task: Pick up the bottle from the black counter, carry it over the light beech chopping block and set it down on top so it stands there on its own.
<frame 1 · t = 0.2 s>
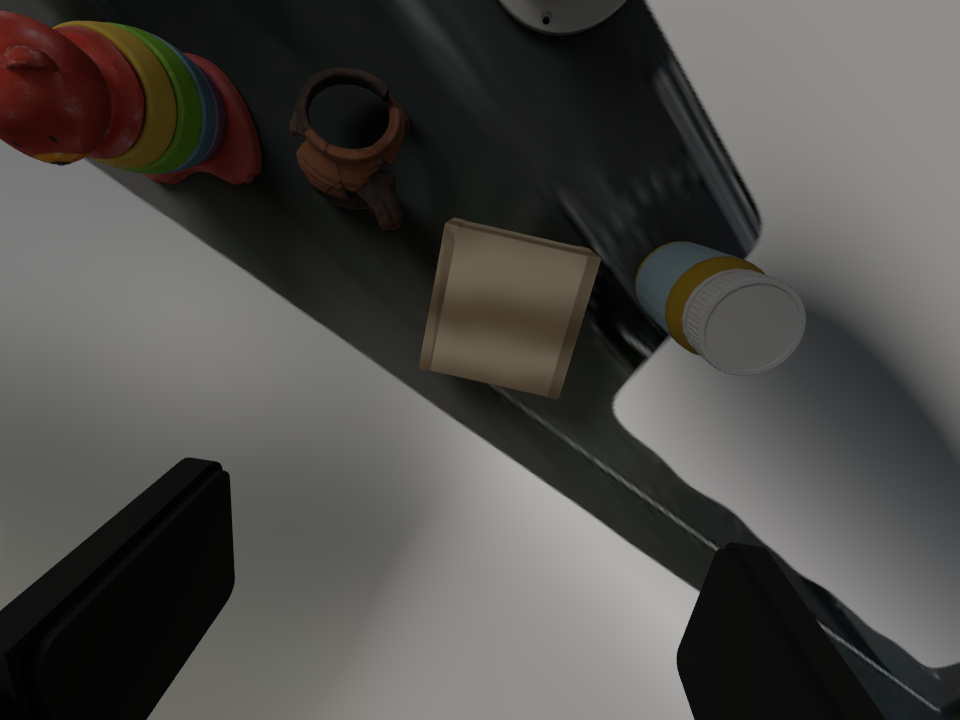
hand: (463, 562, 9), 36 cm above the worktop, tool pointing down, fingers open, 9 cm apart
stacking bear: (197, 121, 41), on the worktop
bottle: (672, 280, 43), on the worktop
chopping block: (506, 299, 44), on the worktop
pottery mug: (368, 161, 41), on the worktop
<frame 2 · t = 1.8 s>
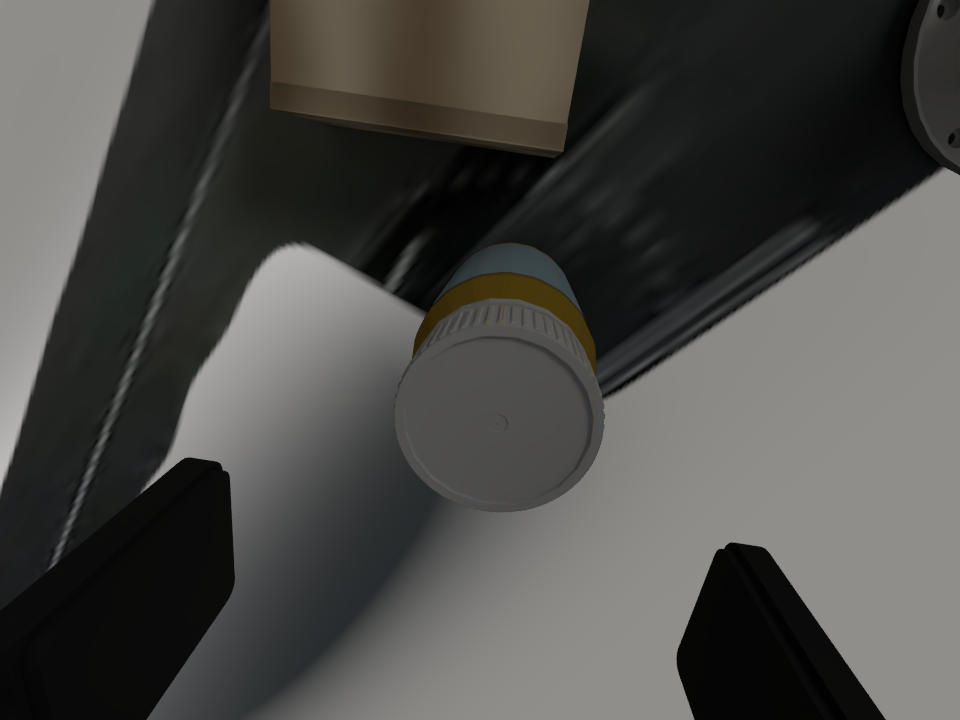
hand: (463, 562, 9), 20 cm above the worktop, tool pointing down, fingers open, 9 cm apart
bottle: (509, 301, 28), on the worktop
chopping block: (452, 3, 23), on the worktop
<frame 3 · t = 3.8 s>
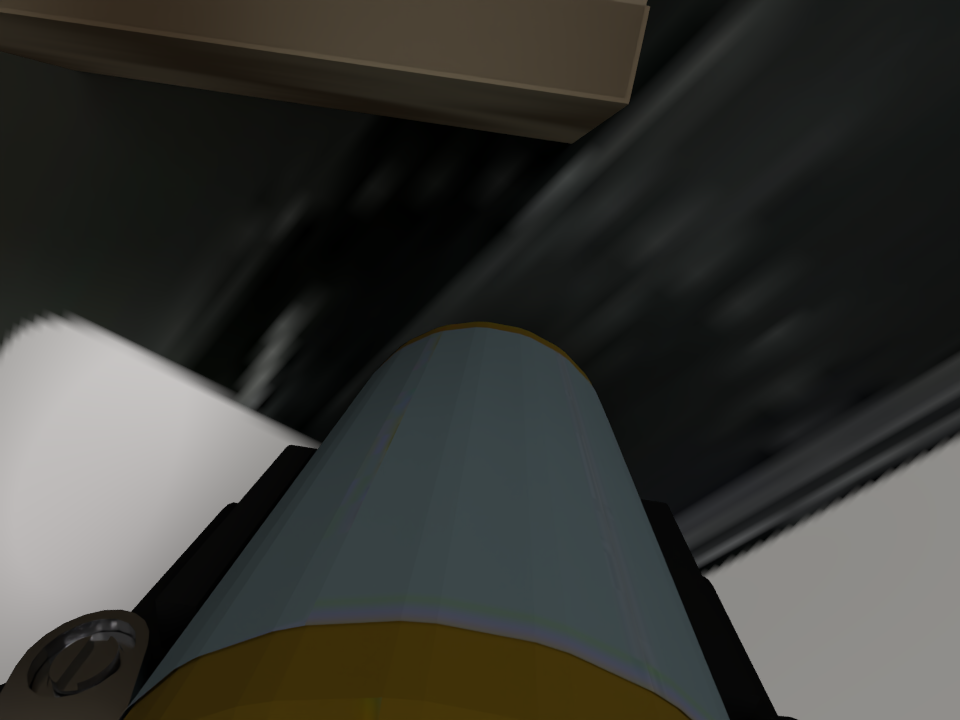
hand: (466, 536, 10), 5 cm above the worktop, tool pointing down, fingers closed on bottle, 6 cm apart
bottle: (482, 426, 14), on the worktop, touching gripper
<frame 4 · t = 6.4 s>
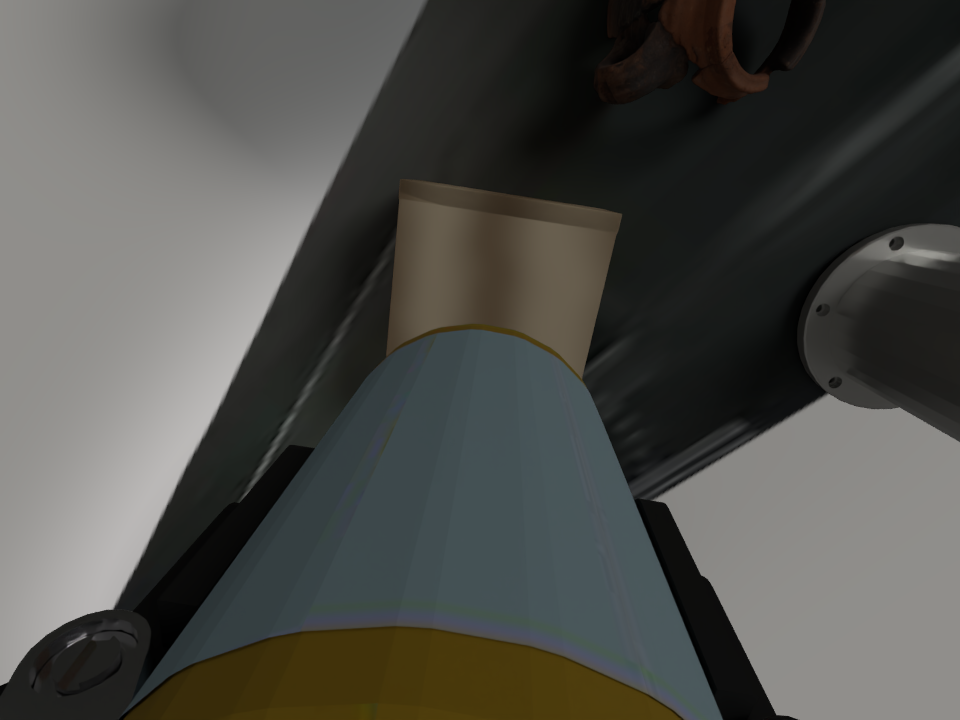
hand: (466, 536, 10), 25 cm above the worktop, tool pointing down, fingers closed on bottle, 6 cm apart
bottle: (476, 428, 14), point 21 cm above the worktop, touching gripper
chopping block: (496, 285, 34), on the worktop
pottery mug: (672, 38, 28), on the worktop
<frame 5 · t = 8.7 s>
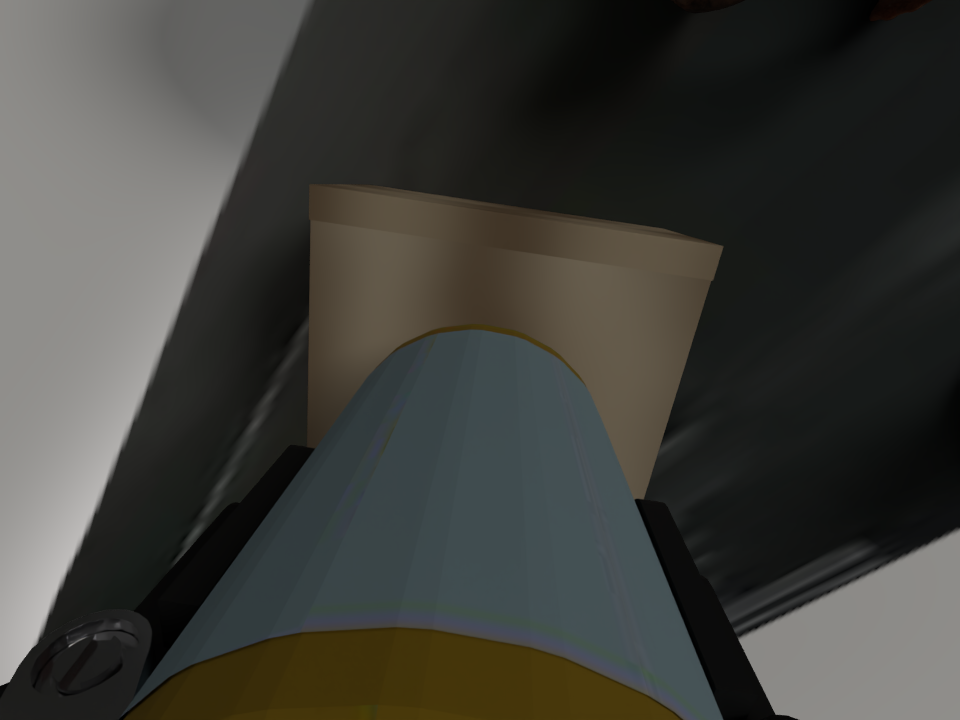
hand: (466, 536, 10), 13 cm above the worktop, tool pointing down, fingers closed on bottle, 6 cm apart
bottle: (477, 428, 14), point 8 cm above the worktop, touching gripper
chopping block: (492, 346, 22), on the worktop
when the fingers open (11 cm above the worktop, at t = 9.5 s): bottle moves 1 cm, resting on chopping block.
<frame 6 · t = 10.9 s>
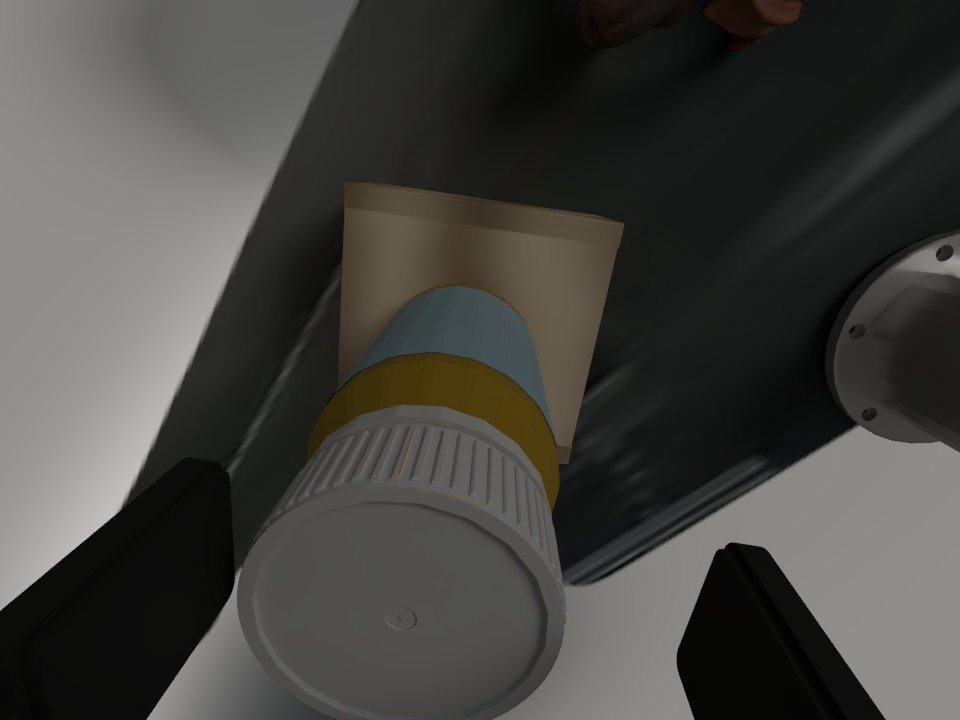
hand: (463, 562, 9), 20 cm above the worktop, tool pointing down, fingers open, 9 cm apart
bottle: (460, 352, 23), point 6 cm above the worktop, touching chopping block
chopping block: (472, 306, 28), on the worktop
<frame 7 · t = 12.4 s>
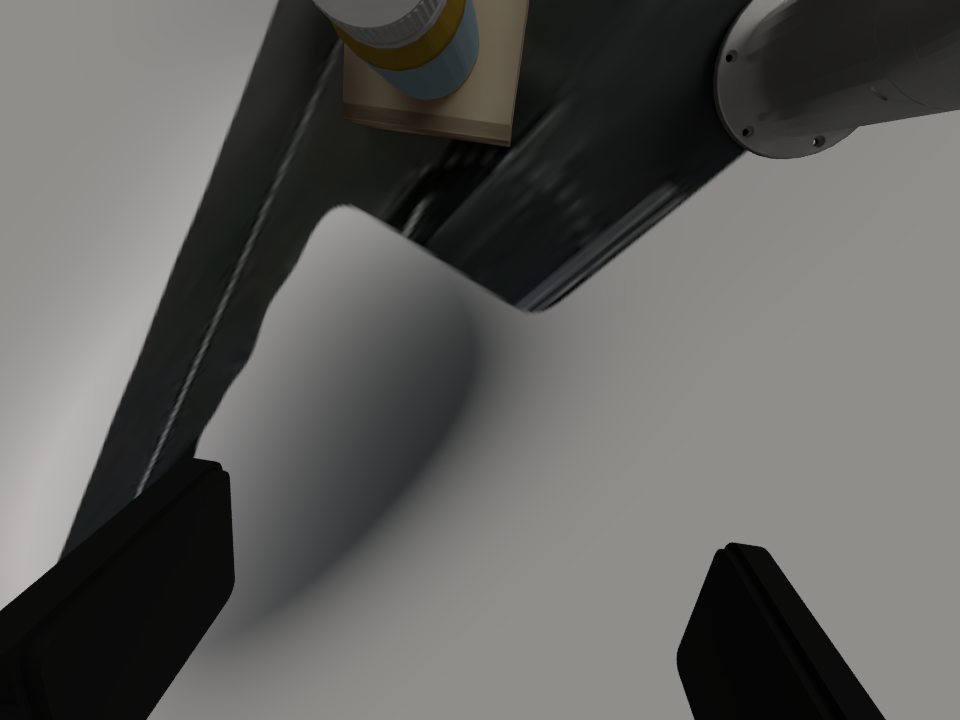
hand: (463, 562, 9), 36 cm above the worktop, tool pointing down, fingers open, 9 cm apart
bottle: (429, 45, 33), point 6 cm above the worktop, touching chopping block
chopping block: (444, 53, 38), on the worktop
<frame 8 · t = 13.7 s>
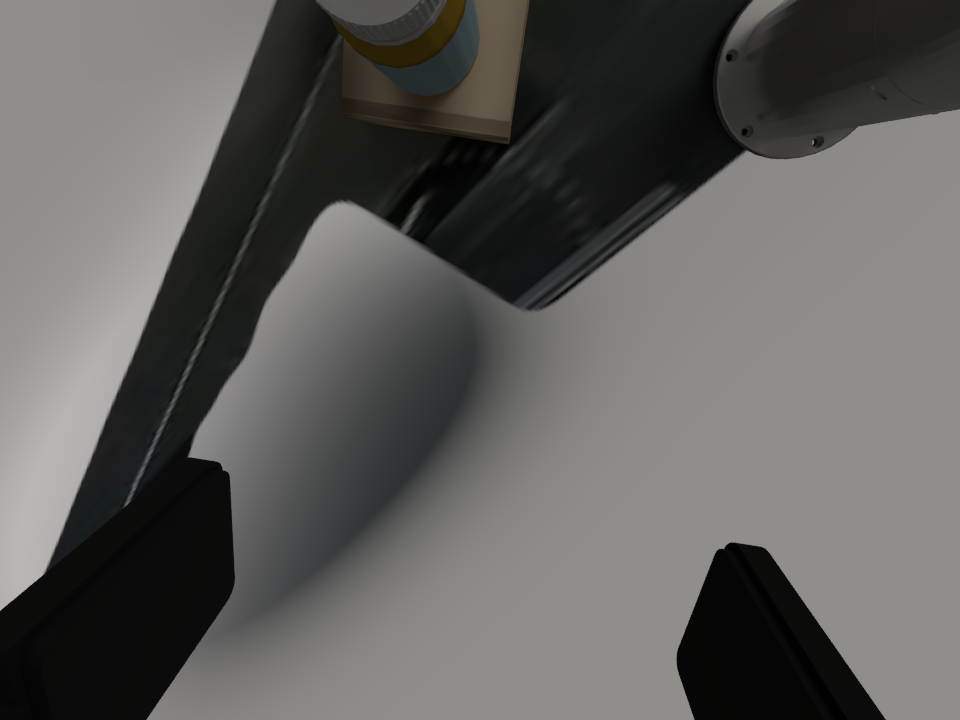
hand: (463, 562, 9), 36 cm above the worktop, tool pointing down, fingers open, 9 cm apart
bottle: (429, 41, 33), point 6 cm above the worktop, touching chopping block
chopping block: (444, 49, 38), on the worktop
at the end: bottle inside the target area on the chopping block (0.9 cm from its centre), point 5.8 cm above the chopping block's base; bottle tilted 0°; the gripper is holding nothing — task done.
